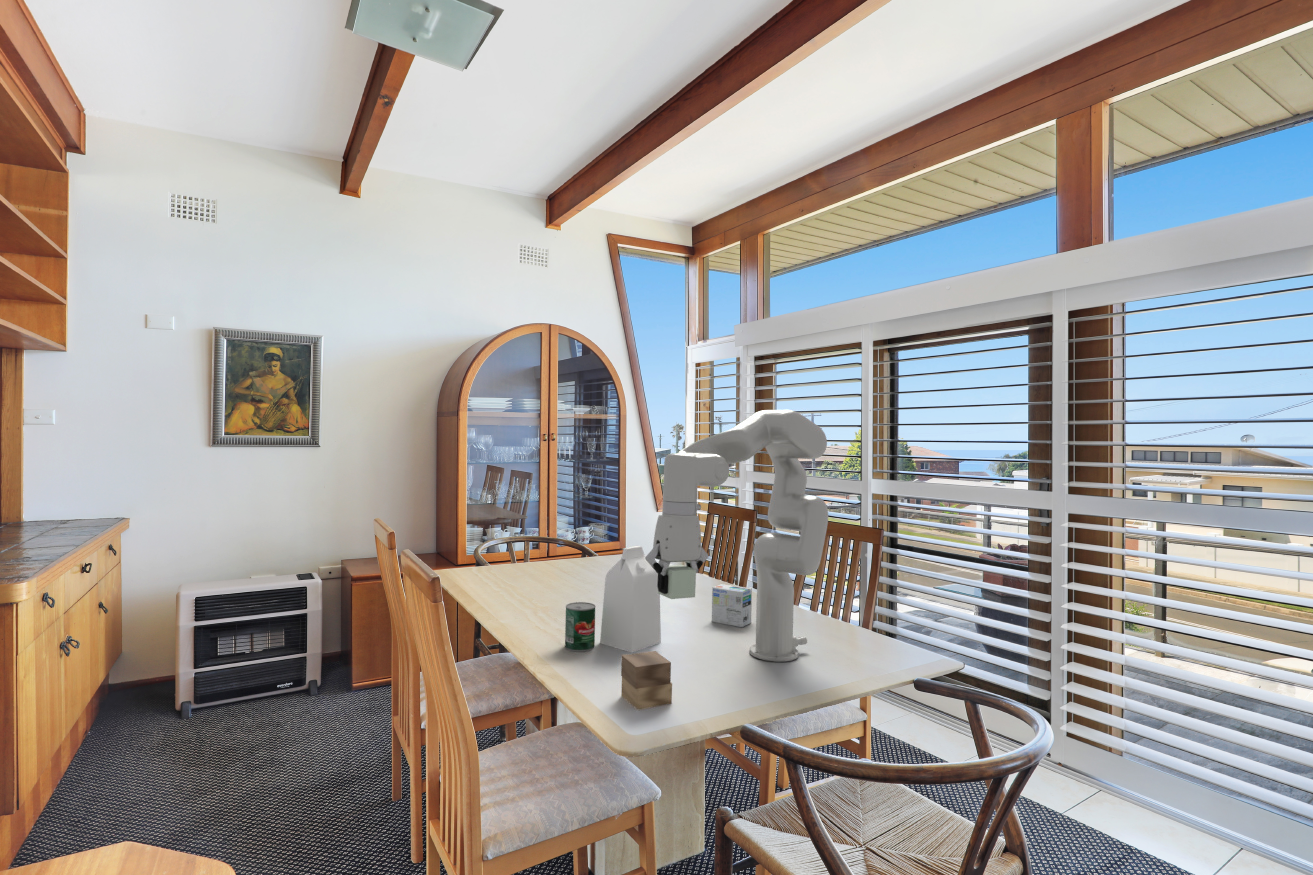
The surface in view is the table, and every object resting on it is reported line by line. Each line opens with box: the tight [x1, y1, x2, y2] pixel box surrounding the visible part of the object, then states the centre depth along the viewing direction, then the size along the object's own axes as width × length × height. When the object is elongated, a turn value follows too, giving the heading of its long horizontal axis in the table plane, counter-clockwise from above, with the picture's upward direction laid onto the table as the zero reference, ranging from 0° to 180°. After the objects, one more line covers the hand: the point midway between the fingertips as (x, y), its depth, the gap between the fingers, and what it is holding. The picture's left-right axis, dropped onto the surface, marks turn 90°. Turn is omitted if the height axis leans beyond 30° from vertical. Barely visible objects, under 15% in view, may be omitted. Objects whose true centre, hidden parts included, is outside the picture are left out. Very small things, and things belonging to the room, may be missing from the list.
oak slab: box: [621, 676, 673, 711], centre depth 144 cm, size 8×8×4 cm
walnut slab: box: [620, 650, 672, 689], centre depth 144 cm, size 8×8×4 cm
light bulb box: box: [711, 583, 753, 628], centre depth 206 cm, size 11×7×11 cm, turn 58°
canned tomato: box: [564, 601, 597, 653], centre depth 178 cm, size 8×8×11 cm
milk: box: [599, 545, 662, 654], centre depth 183 cm, size 12×12×26 cm
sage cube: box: [658, 564, 697, 600], centre depth 148 cm, size 6×6×6 cm
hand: (676, 590), depth 148 cm, fingers closed on sage cube, 6 cm apart
